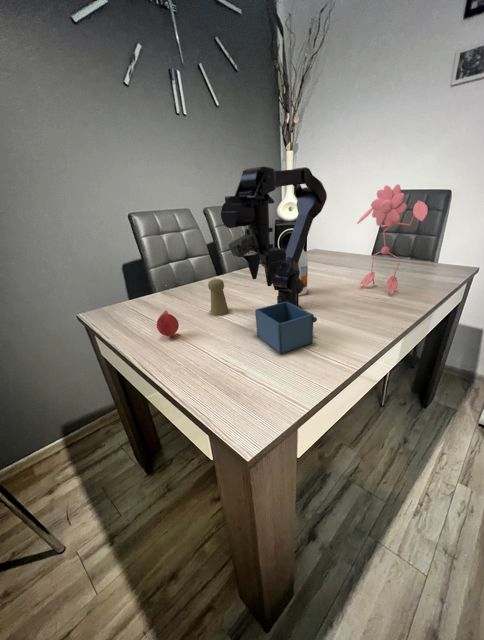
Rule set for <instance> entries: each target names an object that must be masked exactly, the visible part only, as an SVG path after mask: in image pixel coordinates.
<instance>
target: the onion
mask: <svg viewBox="0 0 484 640" xmlns="http://www.w3.org/2000/svg"><path fill="white" fill-rule="evenodd" d="M179 324H180V323H179V320H178V319H177V318H176V317H175V316H174V315H173V314H171V313H169V311H168V310H163V312H162V313H161V314H160V315H159V317H158V318H157V321H156V328H157V331H158V332H159V333H160V334H161V335H162V336H165V337H169V338H172V337H173V336H174V335H175V334H176V333H177V332H178V330H179V328H180V325H179Z"/></svg>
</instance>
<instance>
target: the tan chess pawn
mask: <svg viewBox="0 0 484 640" xmlns="http://www.w3.org/2000/svg"><path fill="white" fill-rule="evenodd" d="M207 283H208V284H207V288H208V289H209V292H210V313H211V315H213V316H222V315H226V314H228V313H229V308H228V303H227V299H226V296H225V292H224V291H225V290H224V288H225V282H224V281H223V280H222V279H217V278H215V279H211V280H209V281H208V282H207Z"/></svg>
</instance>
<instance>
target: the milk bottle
mask: <svg viewBox="0 0 484 640" xmlns="http://www.w3.org/2000/svg"><path fill="white" fill-rule="evenodd" d="M307 257H308V256H307V255H306V252H305V249H304V247H303V250H302V253H301V256H300V259H299V262H298V266H299V270H300V275H299V279H300V280H301V281H302V283H303V284H304V287H303V291H301V293H299V296H303V295H306V294H307V292H308V272H309V271H308V269H309V265H308V264H309V263H308V258H307Z"/></svg>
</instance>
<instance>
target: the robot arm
mask: <svg viewBox="0 0 484 640" xmlns="http://www.w3.org/2000/svg"><path fill="white" fill-rule="evenodd" d="M302 185H305V186H306V187H302ZM286 186H293V195H294V197H295V199H296V200H297V201H296V209H297V216H296V220H295V223H294V225H293V229H292V231H291V235H290V236H289V237H290V238H289V240H288V243H287V246H286V249H284V248H282V247H274V244H273V243H271V234H270V233H273V232H274V231H273V230H274V228H273V227H270V205H272V204H275V199H274V198H272V197H271V196H270V194H269V193H272V192H275V190H276V189H277V188H281V187H286ZM236 188H237V189H236V191H235V194H234V195H229V196H228V195H227V196H224V203H223V204H222V206H221V210H220V219H221V222H222V223H223V225H224V226H225V227H226V228H227V229H235V228H243V227H247V228H245V229H244V234H243V236H240V237H238V238H236V239H235V240H233V241H231V242H230V243H228V247H229V250H230V251H231V254H232V256H233V257H236V258H242V259H243V260H244V261H245V262H246V265H247V267H248V270H249V273H250V275H251V278H252V280H256V279H257V278H258V274H259V269H260V268H259V267H260V265H261V266H262V267H263V269H264V273H265V281H266V286H267V287H271V286H273V289H274V291H277V296H276V299H277V300H276V304H278V303H282V302H286V301H287V302H289V303H291V304H293V305H295V306H297V307H299V308H301V309H302V306H300V304H299V303H300V302H299V299H300V295H299V293H301V291H303V287H304V284H303V283H302V281H301V280H300V279H299V275H300V270H299V266H298V262H299V259H300V256H301V253H302V250H303V248H304V247H305V244H306V241H307V239H308V236H309V234H310V230H311V227H312V225H313V221H314V219H315V218H316V217H317V216H318V215H319V214H320V213H321V212H322V210H323V208H324V206H325V204H326V202H327V198H328V194H327V191H326V189H325V186H324V185H323V183H322V181H321V180H319V179H318V178H317V177H316V176H315V175H314V174H313V172H312V171H311V168H309V167H305V166H304V167H297V168H291V169H284V170H283V169H281V170H276V169H274V168H273V167H270V166H265V165H264V166H263V165H262V166H256V167H251V168H245V169H244V170H242V173H241V177H240V181H239V183H238V186H237V187H236Z"/></svg>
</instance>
